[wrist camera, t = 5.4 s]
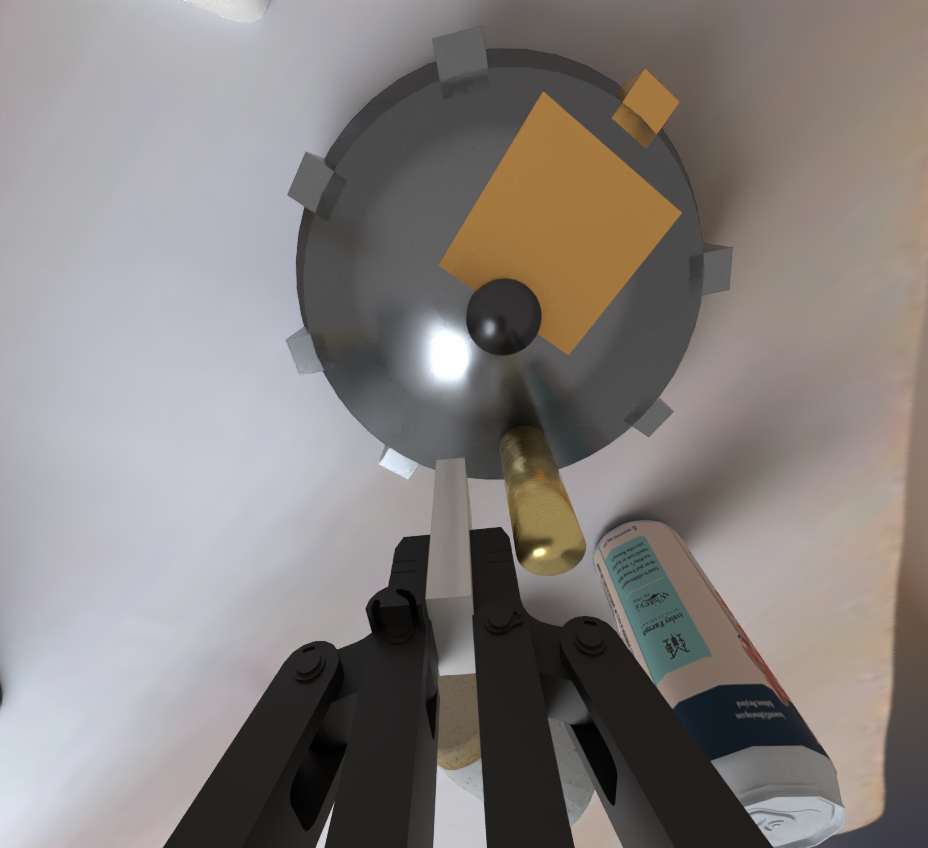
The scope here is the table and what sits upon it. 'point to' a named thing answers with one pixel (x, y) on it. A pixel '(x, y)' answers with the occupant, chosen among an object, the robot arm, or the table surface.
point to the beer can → (718, 684)
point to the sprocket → (505, 278)
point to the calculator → (234, 8)
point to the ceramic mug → (464, 751)
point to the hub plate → (430, 75)
